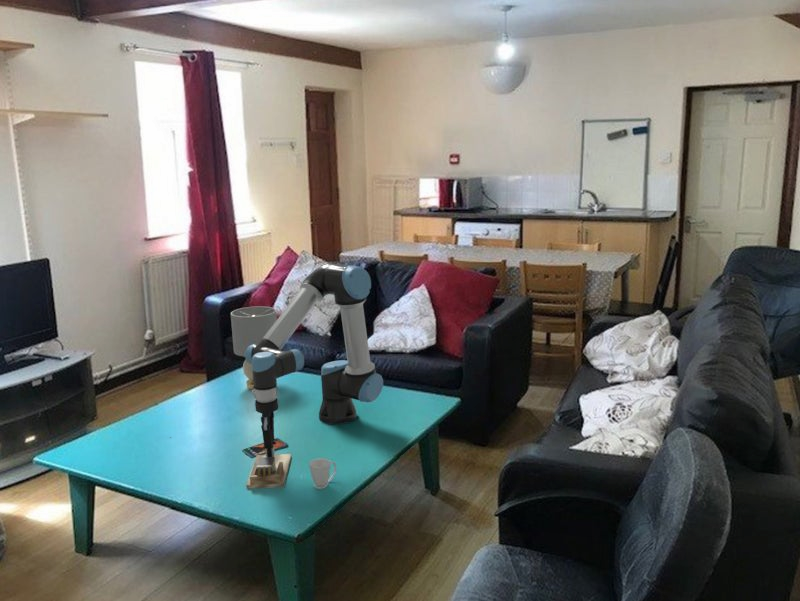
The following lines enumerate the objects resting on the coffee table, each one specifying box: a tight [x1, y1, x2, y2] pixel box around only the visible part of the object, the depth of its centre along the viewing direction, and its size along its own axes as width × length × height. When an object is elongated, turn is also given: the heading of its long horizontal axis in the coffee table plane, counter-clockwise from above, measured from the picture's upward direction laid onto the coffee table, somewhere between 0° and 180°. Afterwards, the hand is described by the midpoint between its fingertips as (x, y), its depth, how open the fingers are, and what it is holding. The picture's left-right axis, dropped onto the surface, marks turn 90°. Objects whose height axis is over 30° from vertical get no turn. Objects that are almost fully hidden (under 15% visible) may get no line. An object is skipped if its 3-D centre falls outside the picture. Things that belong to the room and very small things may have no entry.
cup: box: [308, 457, 337, 490], centre depth 225 cm, size 7×10×8 cm
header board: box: [246, 453, 292, 489], centre depth 234 cm, size 12×22×7 cm, turn 3°
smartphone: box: [241, 437, 289, 459], centre depth 253 cm, size 8×1×15 cm
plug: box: [256, 457, 276, 475], centre depth 229 cm, size 5×8×5 cm, turn 2°
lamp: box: [230, 306, 278, 391], centre depth 315 cm, size 20×20×35 cm
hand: (270, 463), depth 236 cm, fingers closed
